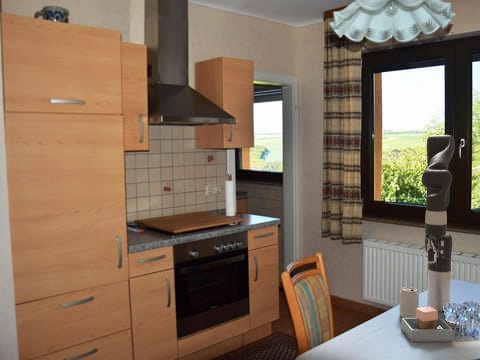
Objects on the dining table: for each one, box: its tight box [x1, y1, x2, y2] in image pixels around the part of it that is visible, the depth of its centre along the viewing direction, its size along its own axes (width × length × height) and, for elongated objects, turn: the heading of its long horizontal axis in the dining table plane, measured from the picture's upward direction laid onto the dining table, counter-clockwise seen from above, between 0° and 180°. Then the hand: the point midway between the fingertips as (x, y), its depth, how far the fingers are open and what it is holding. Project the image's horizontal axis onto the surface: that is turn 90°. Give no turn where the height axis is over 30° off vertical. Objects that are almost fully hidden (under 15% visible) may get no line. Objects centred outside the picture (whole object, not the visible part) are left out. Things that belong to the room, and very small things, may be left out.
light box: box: [416, 306, 439, 321], centre depth 181 cm, size 4×6×4 cm
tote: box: [401, 317, 454, 343], centre depth 182 cm, size 12×15×4 cm
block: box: [417, 318, 437, 330], centre depth 182 cm, size 6×6×6 cm
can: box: [399, 286, 420, 318], centre depth 201 cm, size 8×8×12 cm
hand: (434, 264), depth 185 cm, fingers open, 8 cm apart
